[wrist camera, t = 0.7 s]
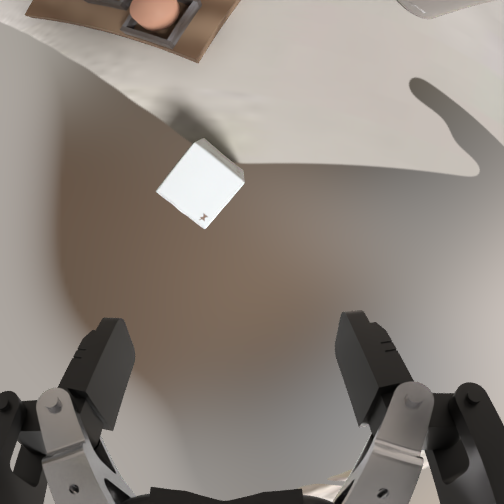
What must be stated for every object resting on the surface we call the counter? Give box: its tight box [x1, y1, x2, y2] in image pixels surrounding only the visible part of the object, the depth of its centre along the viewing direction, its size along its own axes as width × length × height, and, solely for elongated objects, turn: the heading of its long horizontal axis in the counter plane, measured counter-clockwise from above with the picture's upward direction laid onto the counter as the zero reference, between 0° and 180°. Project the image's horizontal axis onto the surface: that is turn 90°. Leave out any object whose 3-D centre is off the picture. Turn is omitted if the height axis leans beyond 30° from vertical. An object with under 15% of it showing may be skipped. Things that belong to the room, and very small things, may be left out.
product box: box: [156, 138, 244, 229], centre depth 29 cm, size 6×6×7 cm
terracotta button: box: [130, 0, 180, 31], centre depth 19 cm, size 4×4×3 cm
